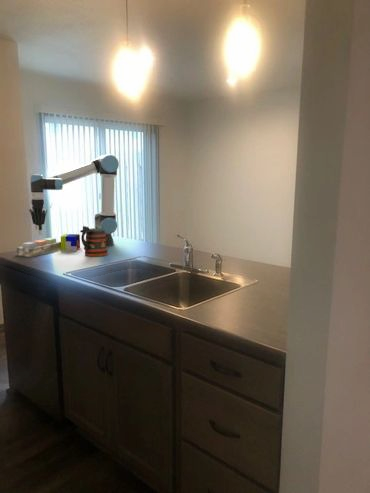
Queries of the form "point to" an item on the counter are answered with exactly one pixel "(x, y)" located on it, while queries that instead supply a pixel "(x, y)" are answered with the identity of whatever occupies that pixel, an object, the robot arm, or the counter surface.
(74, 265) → the counter surface
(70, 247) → the puzzle toy
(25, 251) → the key console
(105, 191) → the robot arm
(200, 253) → the counter surface
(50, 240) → the key sage
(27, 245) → the key slate
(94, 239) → the beer stein
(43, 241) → the key terracotta
